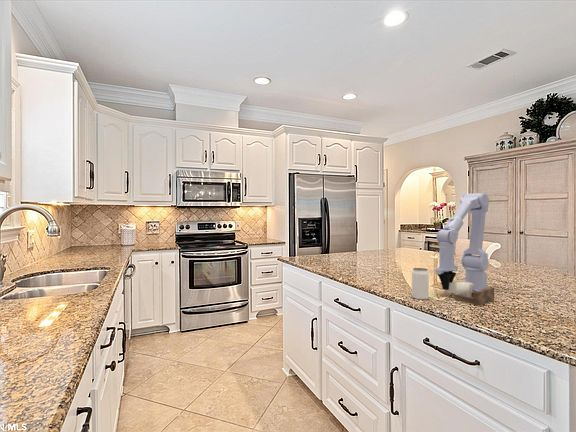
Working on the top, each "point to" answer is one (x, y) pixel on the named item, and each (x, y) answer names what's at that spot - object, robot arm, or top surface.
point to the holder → (478, 297)
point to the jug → (461, 288)
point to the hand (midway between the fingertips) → (446, 289)
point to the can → (420, 283)
